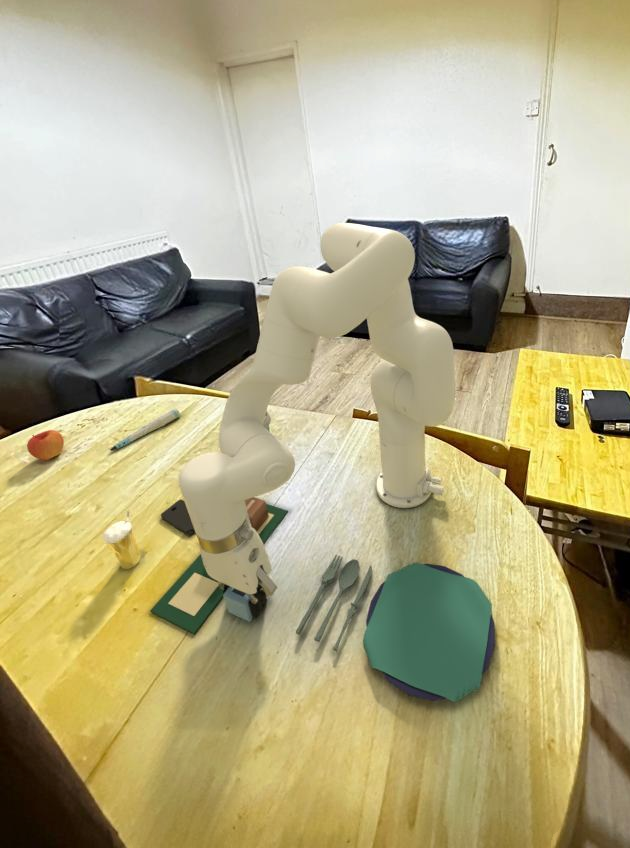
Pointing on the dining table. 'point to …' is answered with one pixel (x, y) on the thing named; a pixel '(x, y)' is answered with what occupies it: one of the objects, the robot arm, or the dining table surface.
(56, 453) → the apple
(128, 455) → the dining table surface
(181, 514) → the black smartphone
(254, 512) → the letter block
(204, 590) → the word mat
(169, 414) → the pen
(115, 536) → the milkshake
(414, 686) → the cutlery set
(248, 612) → the light blue block
